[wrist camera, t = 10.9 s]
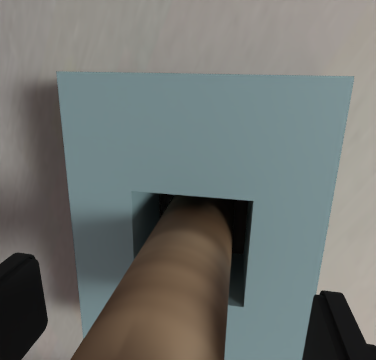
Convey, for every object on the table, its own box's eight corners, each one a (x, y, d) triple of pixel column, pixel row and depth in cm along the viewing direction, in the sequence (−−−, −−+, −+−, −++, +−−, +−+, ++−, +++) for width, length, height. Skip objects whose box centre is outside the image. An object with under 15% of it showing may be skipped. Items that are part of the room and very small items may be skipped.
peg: (172, 177, 19) (6, 388, 6) (236, 182, 18) (219, 433, 5) (171, 235, 20) (33, 520, 7) (232, 241, 19) (209, 570, 6)
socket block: (106, 76, 18) (56, 71, 13) (321, 79, 16) (354, 76, 11) (118, 302, 22) (85, 359, 18) (285, 326, 20) (297, 397, 16)
